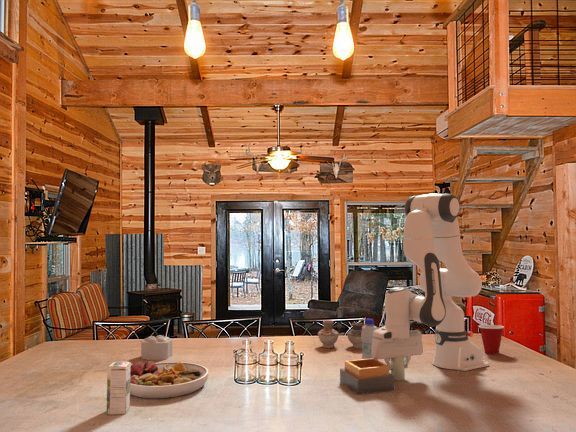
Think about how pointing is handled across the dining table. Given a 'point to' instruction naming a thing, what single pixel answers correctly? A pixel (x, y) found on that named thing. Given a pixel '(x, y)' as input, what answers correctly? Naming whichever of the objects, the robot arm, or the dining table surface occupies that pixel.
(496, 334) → the plastic cup
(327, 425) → the dining table surface
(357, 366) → the tan and grey box
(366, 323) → the bottle
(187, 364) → the bowl
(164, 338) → the white lumpy-lid tub
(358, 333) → the pottery
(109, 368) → the syrup box
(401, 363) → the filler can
